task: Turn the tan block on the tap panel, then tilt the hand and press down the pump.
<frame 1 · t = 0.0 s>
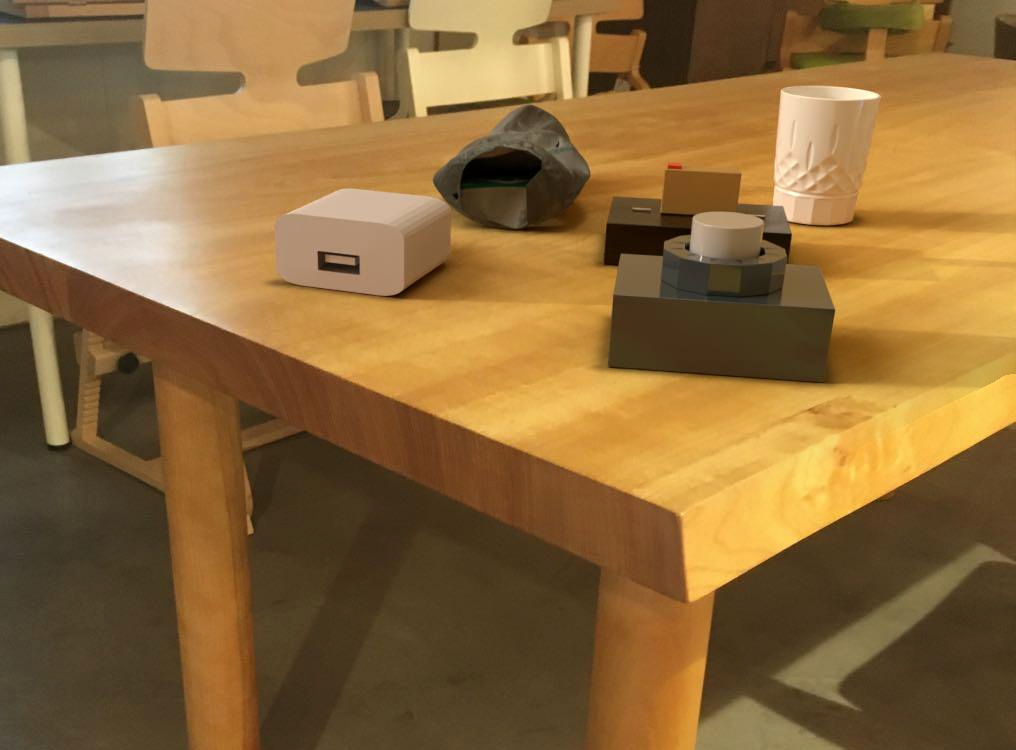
tap panel: (693, 254, 93), on the table
white cup: (811, 219, 105), on the table
tan block: (700, 189, 91), point 5 cm above the table, hinge at 0.0°
grey pouch: (518, 202, 108), on the table
charger: (383, 266, 89), on the table
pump: (726, 237, 71), point 7 cm above the table, slide at 0.1 cm
soap pump block: (712, 349, 74), on the table
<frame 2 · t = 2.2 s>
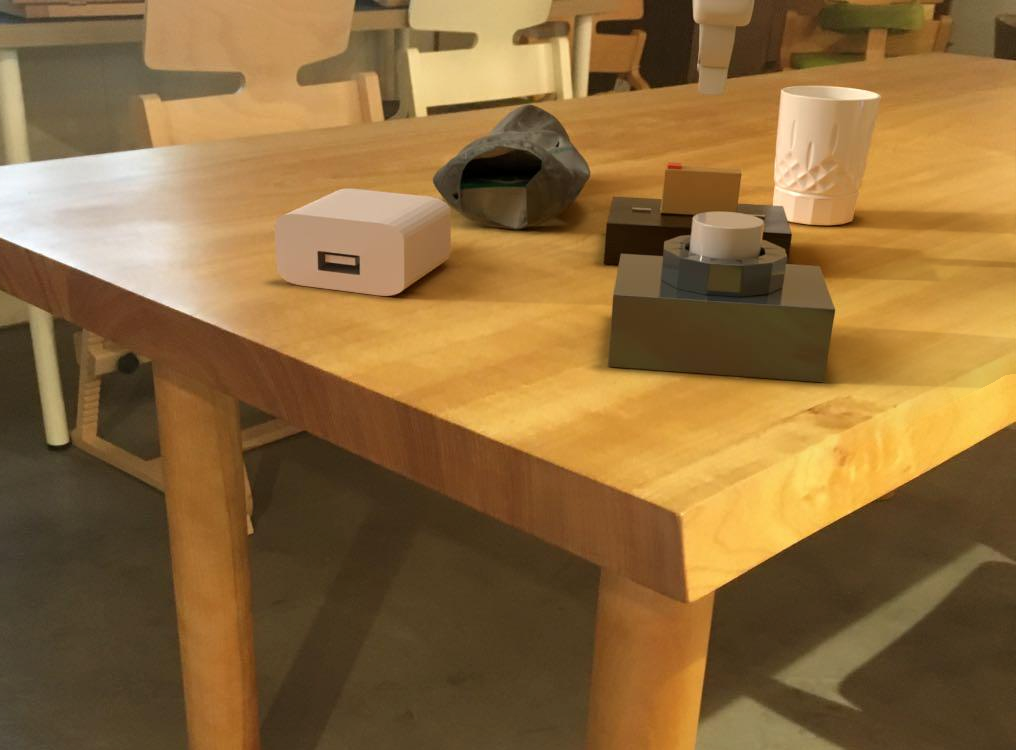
hand: (709, 84, 88), 12 cm above the table, tool pointing down, fingers open, 8 cm apart
nothing on the table moved.
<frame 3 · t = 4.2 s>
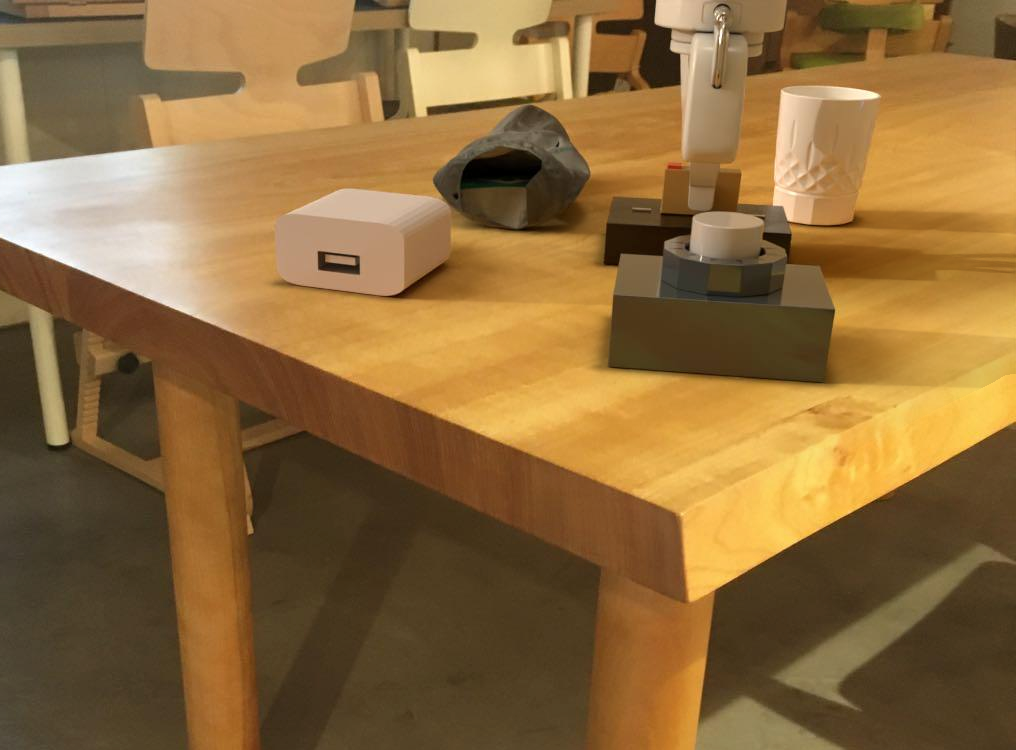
hand: (699, 204, 92), 4 cm above the table, tool pointing down, fingers closed on tan block
tan block: (700, 189, 91), point 5 cm above the table, hinge at 0.0°, touching gripper
everything else where it was.
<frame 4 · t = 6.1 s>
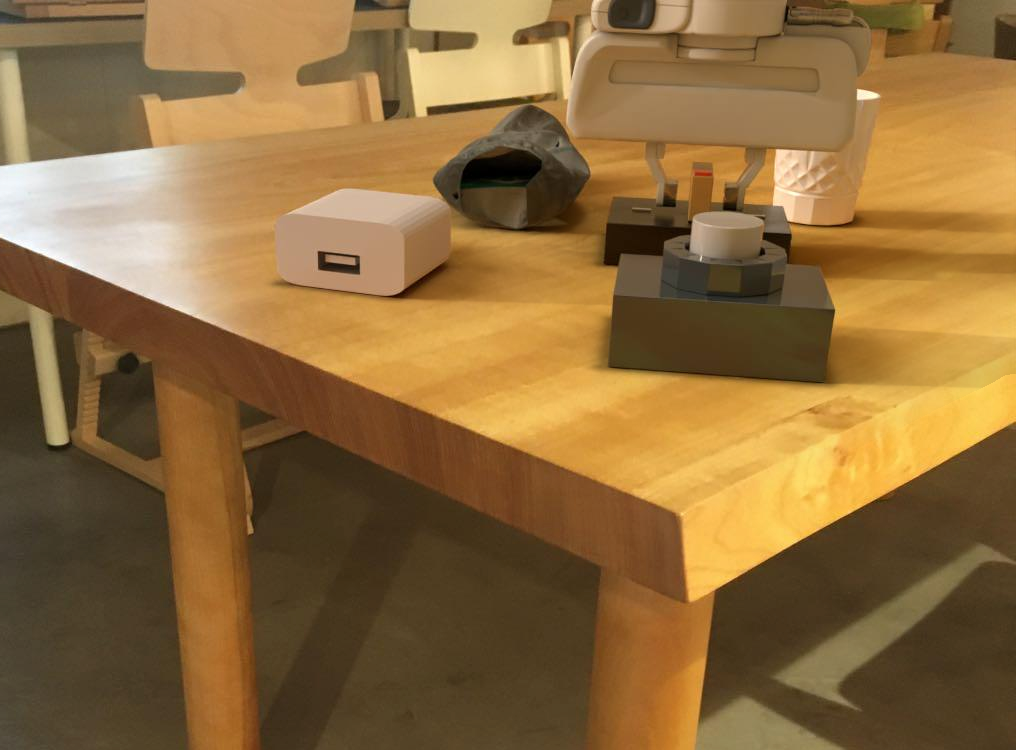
hand: (699, 207, 92), 3 cm above the table, tool pointing down, fingers open, 3 cm apart
tan block: (700, 189, 91), point 5 cm above the table, hinge at 89.7°
everything else where it was.
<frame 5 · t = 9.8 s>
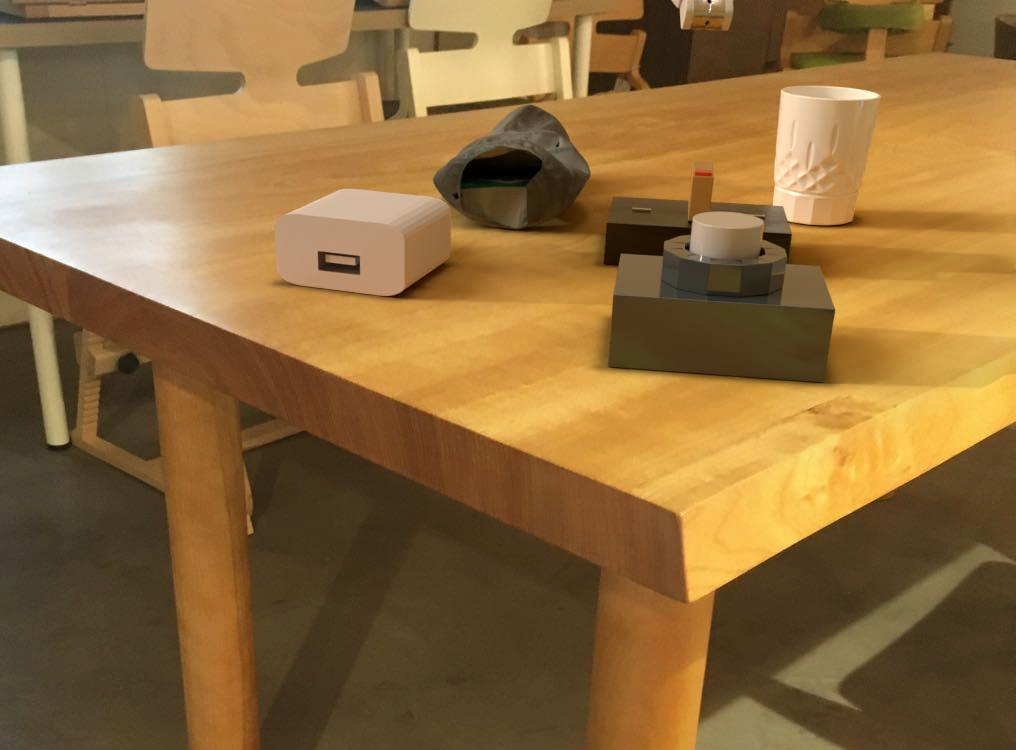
hand: (707, 23, 76), 17 cm above the table, tool tilted 45°, fingers closed
nothing on the table moved.
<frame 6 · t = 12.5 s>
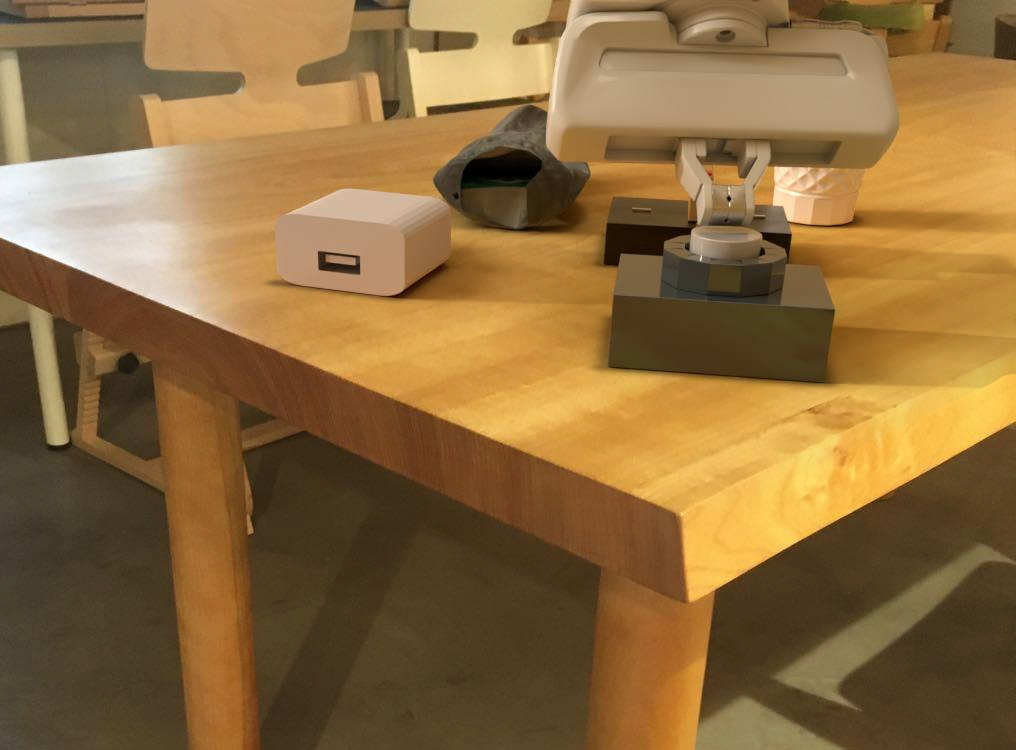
hand: (726, 221, 70), 8 cm above the table, tool tilted 45°, fingers closed, pressing on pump
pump: (724, 250, 71), point 6 cm above the table, slide at -0.7 cm, touching gripper
everything else where it was.
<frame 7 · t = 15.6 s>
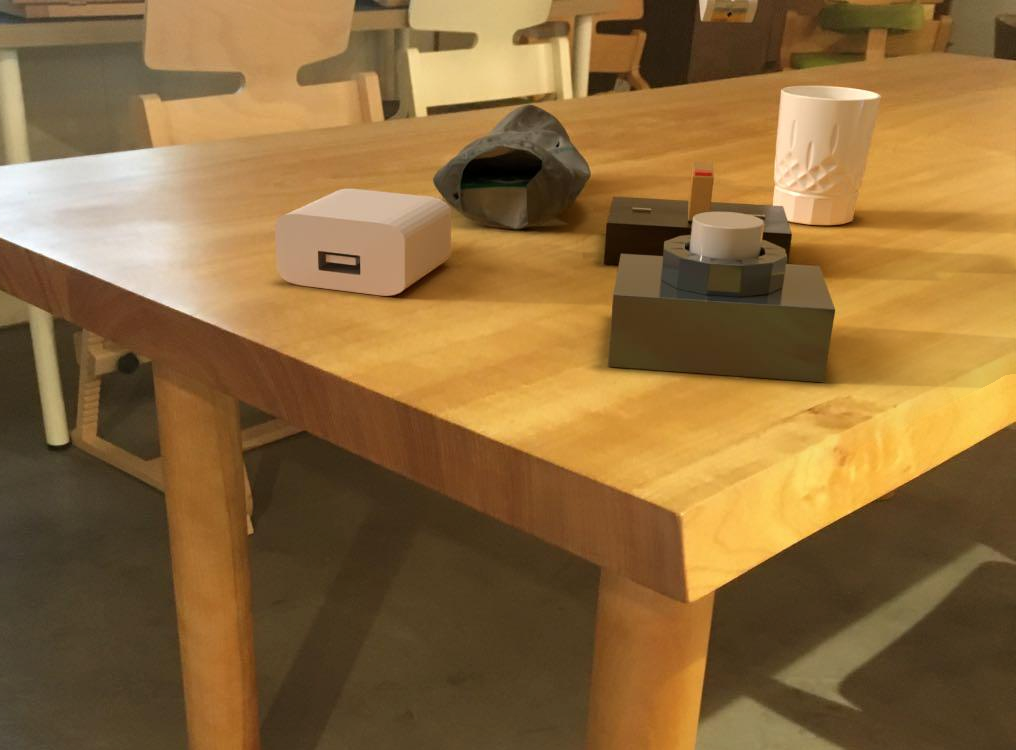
hand: (729, 14, 71), 18 cm above the table, tool tilted 45°, fingers closed
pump: (726, 237, 71), point 7 cm above the table, slide at 0.1 cm
everything else where it was.
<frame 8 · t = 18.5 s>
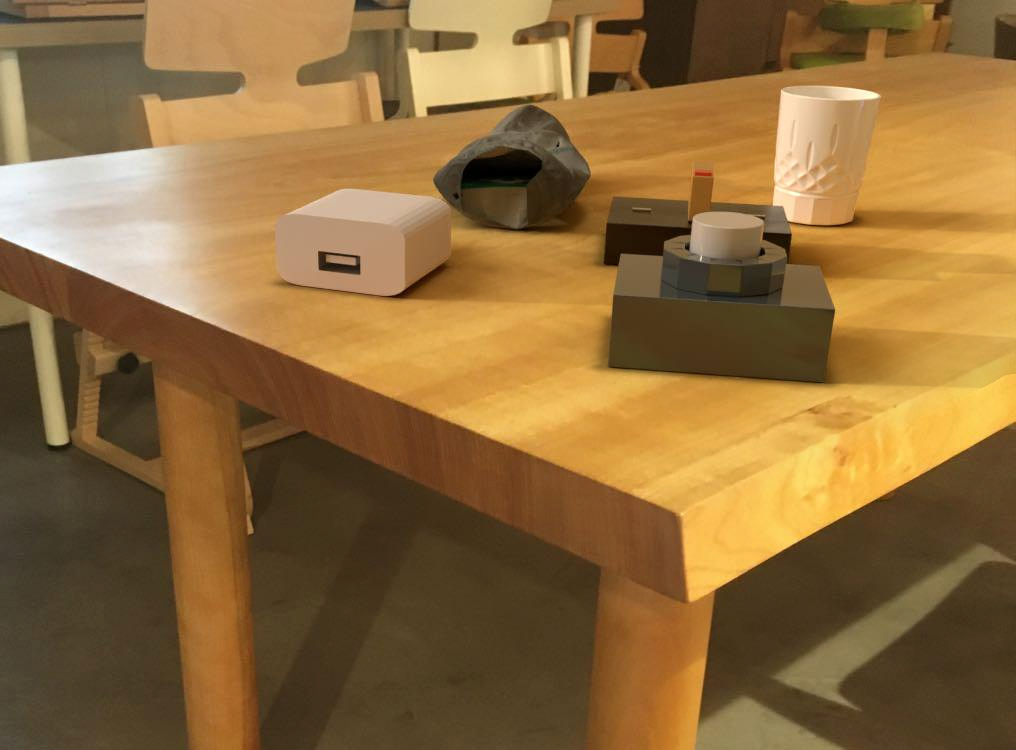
nothing on the table moved.
at the end: tan block at +90° (first picture: +0°); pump pushed in 1.3 cm at the most during the clip, back to where it started at the end; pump slide at 0.1 cm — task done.
